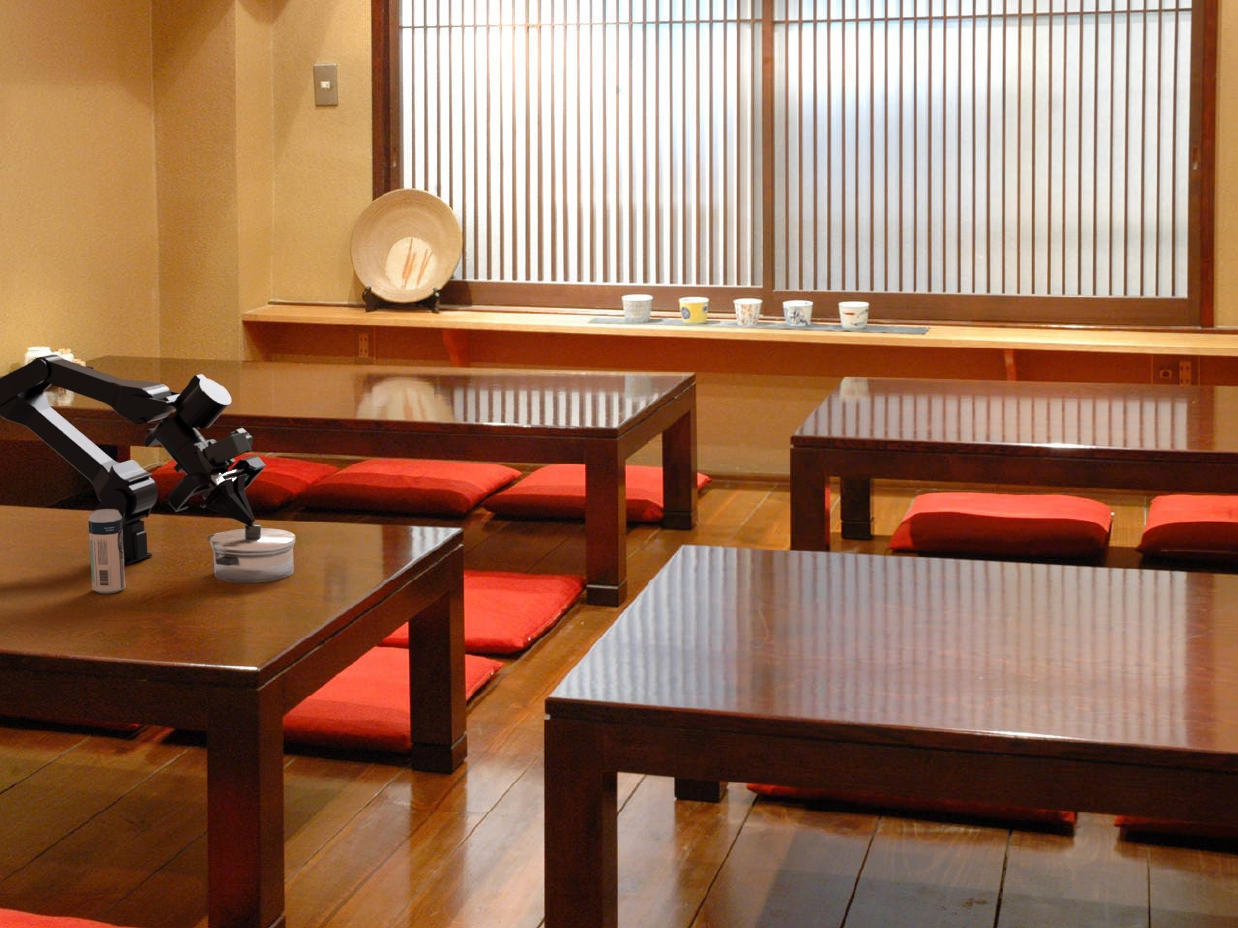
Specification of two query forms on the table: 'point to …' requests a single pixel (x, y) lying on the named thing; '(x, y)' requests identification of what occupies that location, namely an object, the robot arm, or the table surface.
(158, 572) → the table surface
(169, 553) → the table surface
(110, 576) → the beer can
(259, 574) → the cooker pot
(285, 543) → the cooker lid
